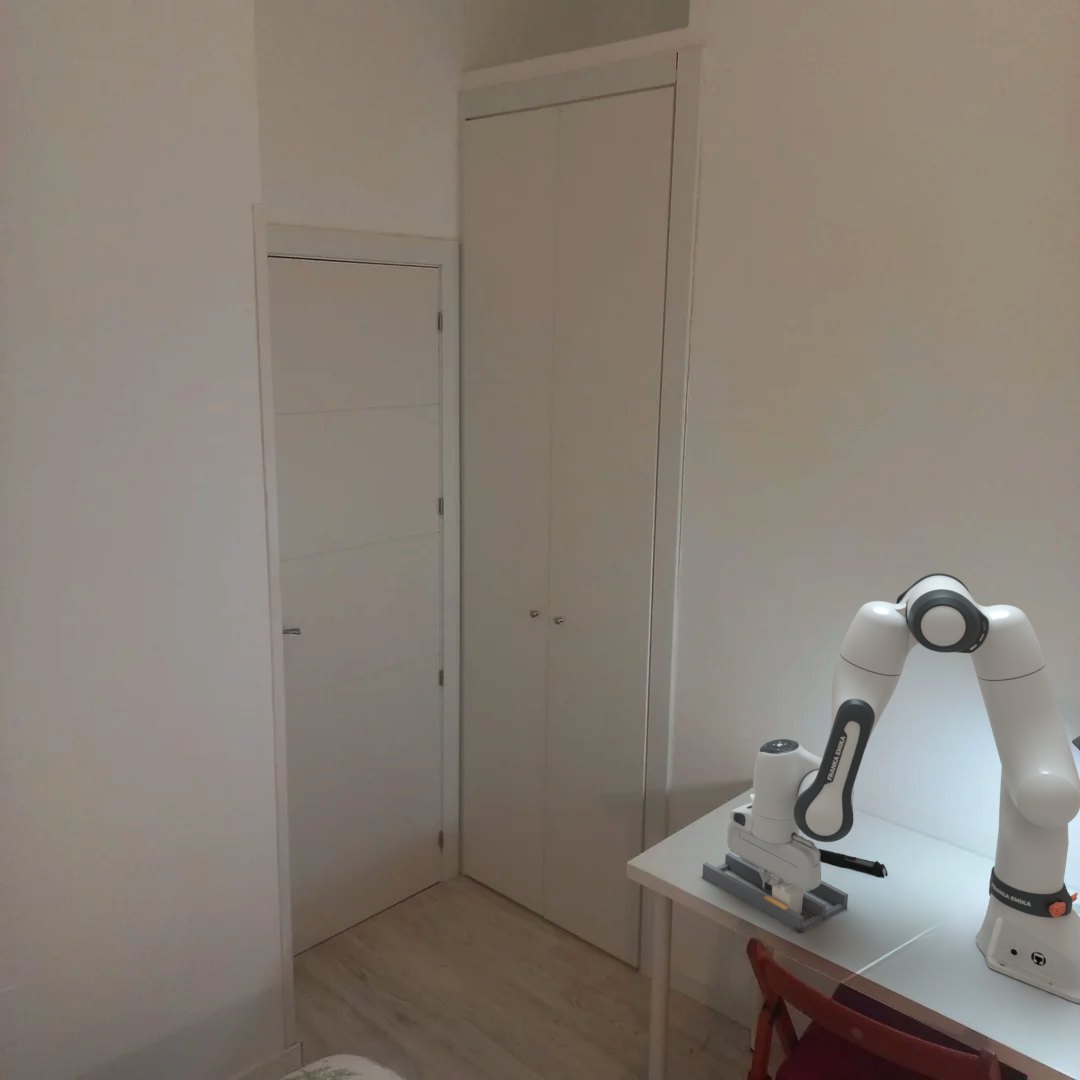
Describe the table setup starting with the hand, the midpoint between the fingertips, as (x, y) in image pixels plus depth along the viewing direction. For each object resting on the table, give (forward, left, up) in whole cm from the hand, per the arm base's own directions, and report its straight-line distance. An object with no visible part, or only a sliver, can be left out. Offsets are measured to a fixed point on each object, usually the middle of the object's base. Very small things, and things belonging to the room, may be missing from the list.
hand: (770, 890), depth 196 cm
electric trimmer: (0, -24, -4) cm, 24 cm away
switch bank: (+2, -3, -3) cm, 5 cm away
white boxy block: (-4, 0, -2) cm, 5 cm away
